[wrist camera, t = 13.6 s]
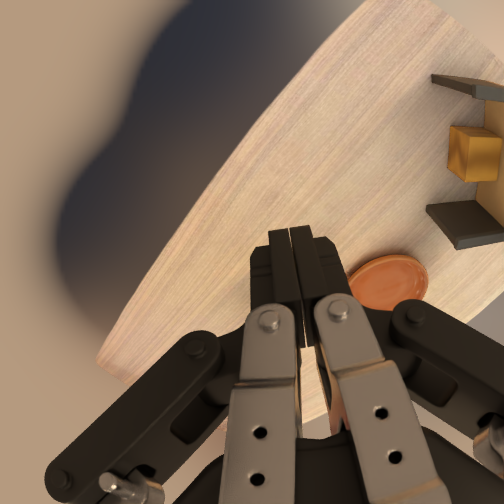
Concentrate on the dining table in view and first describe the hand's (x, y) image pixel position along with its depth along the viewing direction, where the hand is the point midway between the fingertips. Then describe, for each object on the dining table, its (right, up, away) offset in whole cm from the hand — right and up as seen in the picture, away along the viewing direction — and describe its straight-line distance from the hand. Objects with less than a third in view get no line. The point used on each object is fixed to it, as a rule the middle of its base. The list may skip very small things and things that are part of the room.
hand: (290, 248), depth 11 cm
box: (+30, +15, +24) cm, 41 cm away
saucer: (+21, -6, +39) cm, 45 cm away
